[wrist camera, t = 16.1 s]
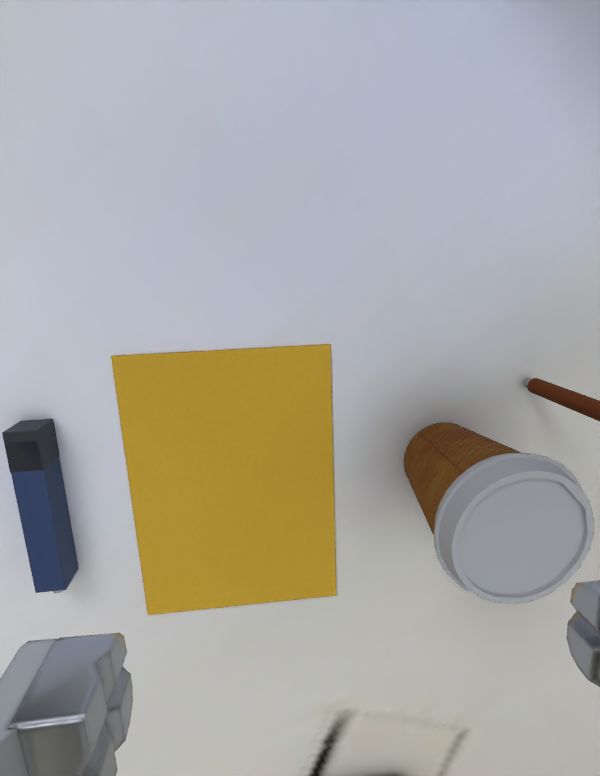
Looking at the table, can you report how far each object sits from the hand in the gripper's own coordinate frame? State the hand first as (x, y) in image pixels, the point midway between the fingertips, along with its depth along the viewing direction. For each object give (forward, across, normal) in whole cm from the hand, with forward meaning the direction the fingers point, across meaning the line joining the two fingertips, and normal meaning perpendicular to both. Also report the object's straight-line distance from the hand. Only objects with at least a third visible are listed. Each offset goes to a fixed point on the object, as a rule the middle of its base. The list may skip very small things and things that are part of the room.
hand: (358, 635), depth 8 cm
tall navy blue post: (+27, +18, +10) cm, 34 cm away
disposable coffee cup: (+27, -13, +9) cm, 32 cm away
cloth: (+27, +4, +10) cm, 29 cm away
